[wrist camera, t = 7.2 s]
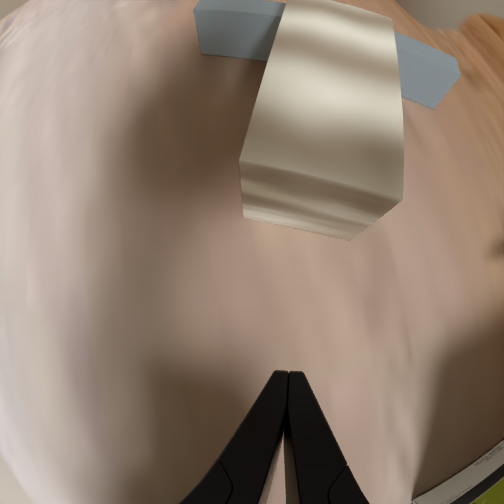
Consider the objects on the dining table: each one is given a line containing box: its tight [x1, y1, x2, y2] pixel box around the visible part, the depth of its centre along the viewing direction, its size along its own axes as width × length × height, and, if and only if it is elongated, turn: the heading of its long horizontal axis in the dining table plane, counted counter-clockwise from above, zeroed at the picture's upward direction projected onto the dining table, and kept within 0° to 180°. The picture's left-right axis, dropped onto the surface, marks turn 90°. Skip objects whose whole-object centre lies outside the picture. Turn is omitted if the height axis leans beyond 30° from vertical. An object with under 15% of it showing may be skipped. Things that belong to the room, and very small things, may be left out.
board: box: [194, 0, 461, 110], centre depth 23 cm, size 2×24×6 cm, turn 77°
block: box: [239, 0, 404, 241], centre depth 20 cm, size 16×8×9 cm, turn 168°
